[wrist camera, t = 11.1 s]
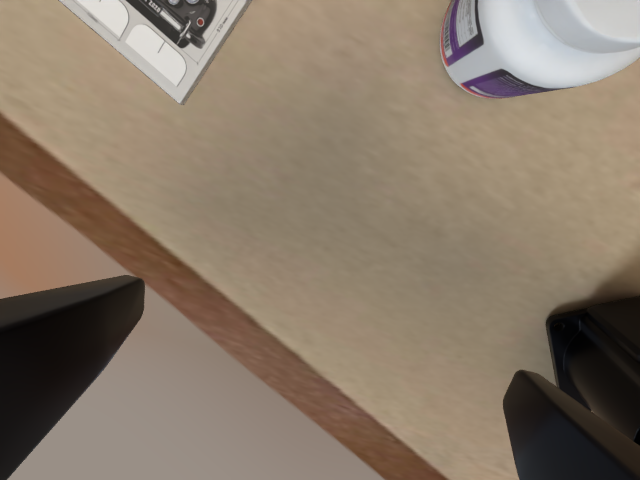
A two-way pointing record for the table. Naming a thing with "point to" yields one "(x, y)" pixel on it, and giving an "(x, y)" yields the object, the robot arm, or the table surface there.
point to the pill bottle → (537, 43)
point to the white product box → (164, 35)
